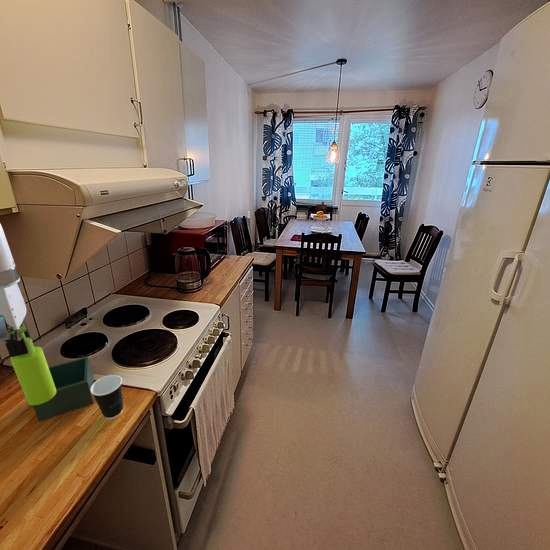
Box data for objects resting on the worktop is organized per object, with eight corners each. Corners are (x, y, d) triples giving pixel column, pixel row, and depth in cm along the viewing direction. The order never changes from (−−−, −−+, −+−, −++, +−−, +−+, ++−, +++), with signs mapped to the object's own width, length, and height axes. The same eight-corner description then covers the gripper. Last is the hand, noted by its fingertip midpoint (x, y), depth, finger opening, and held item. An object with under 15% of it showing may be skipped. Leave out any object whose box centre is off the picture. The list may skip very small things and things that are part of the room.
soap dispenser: (20, 398, 72) (-8, 330, 64) (53, 384, 76) (31, 319, 69) (23, 411, 68) (-6, 341, 60) (58, 396, 72) (35, 329, 65)
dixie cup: (105, 403, 89) (98, 375, 85) (132, 401, 89) (126, 373, 85) (93, 425, 81) (84, 395, 77) (122, 423, 82) (115, 394, 78)
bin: (38, 421, 82) (29, 398, 79) (45, 390, 93) (37, 369, 90) (93, 403, 89) (87, 381, 85) (93, 376, 99) (88, 356, 96)
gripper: (-16, 268, 65) (10, 336, 72) (-47, 296, 52) (-11, 377, 58) (26, 263, 68) (47, 328, 75) (7, 289, 55) (35, 365, 62)
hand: (21, 349), depth 67 cm, fingers closed on soap dispenser, 3 cm apart
